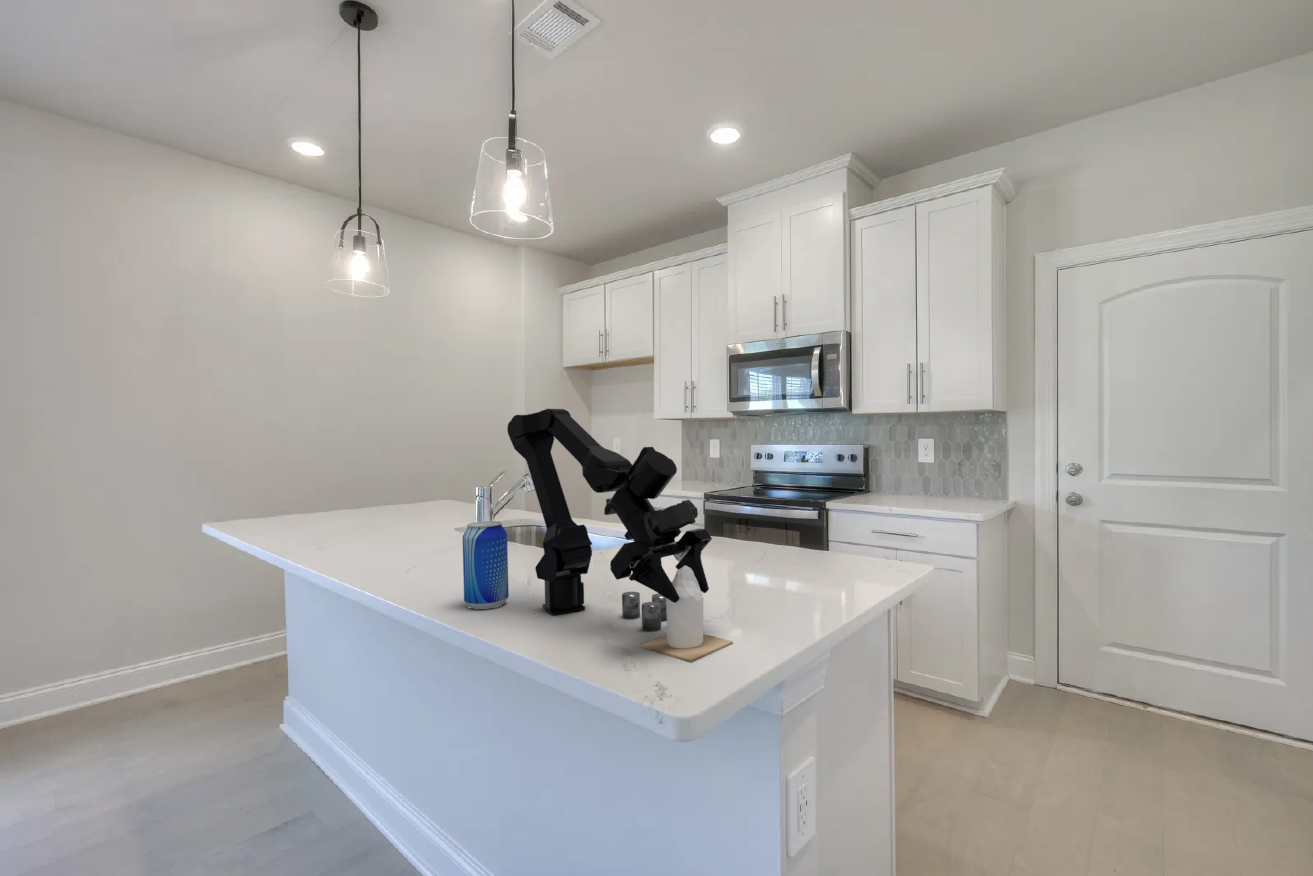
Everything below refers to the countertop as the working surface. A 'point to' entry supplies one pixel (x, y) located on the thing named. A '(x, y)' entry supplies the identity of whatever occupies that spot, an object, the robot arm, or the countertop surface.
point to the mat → (688, 654)
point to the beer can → (485, 565)
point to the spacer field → (645, 610)
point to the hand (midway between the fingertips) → (692, 596)
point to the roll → (685, 611)
